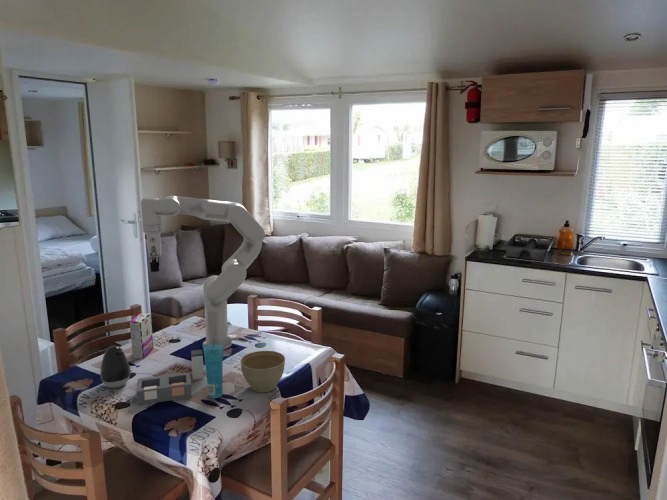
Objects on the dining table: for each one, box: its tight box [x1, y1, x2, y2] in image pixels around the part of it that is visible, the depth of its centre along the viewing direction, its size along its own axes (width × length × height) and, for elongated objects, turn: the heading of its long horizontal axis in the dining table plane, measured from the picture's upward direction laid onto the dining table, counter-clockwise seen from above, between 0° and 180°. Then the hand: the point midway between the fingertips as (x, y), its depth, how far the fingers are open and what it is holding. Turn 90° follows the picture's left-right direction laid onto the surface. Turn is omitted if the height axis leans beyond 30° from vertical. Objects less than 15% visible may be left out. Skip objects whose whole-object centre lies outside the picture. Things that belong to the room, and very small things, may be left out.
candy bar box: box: [128, 312, 155, 360], centre depth 209 cm, size 11×5×16 cm, turn 179°
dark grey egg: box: [100, 345, 131, 389], centre depth 181 cm, size 10×10×15 cm
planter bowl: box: [239, 350, 286, 393], centre depth 181 cm, size 16×16×11 cm
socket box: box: [135, 371, 193, 406], centre depth 175 cm, size 18×10×5 cm, turn 108°
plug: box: [190, 349, 205, 380], centre depth 189 cm, size 4×4×10 cm
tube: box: [202, 343, 225, 399], centre depth 174 cm, size 7×5×19 cm, turn 96°
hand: (155, 268), depth 205 cm, fingers open, 9 cm apart
